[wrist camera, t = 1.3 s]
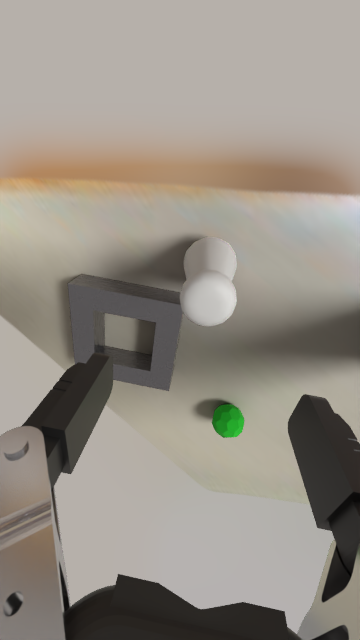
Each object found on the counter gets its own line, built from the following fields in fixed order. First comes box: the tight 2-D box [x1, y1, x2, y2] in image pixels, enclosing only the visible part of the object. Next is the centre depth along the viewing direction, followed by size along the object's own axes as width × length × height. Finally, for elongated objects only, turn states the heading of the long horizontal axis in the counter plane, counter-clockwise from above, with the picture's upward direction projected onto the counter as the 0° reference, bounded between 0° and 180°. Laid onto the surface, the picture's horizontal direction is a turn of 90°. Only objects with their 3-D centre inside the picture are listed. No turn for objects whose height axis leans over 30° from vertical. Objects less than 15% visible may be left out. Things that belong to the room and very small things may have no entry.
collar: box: [68, 274, 183, 391], centre depth 33 cm, size 14×14×4 cm
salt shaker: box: [180, 237, 237, 327], centre depth 23 cm, size 6×6×13 cm
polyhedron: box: [212, 404, 244, 437], centre depth 38 cm, size 5×5×5 cm
